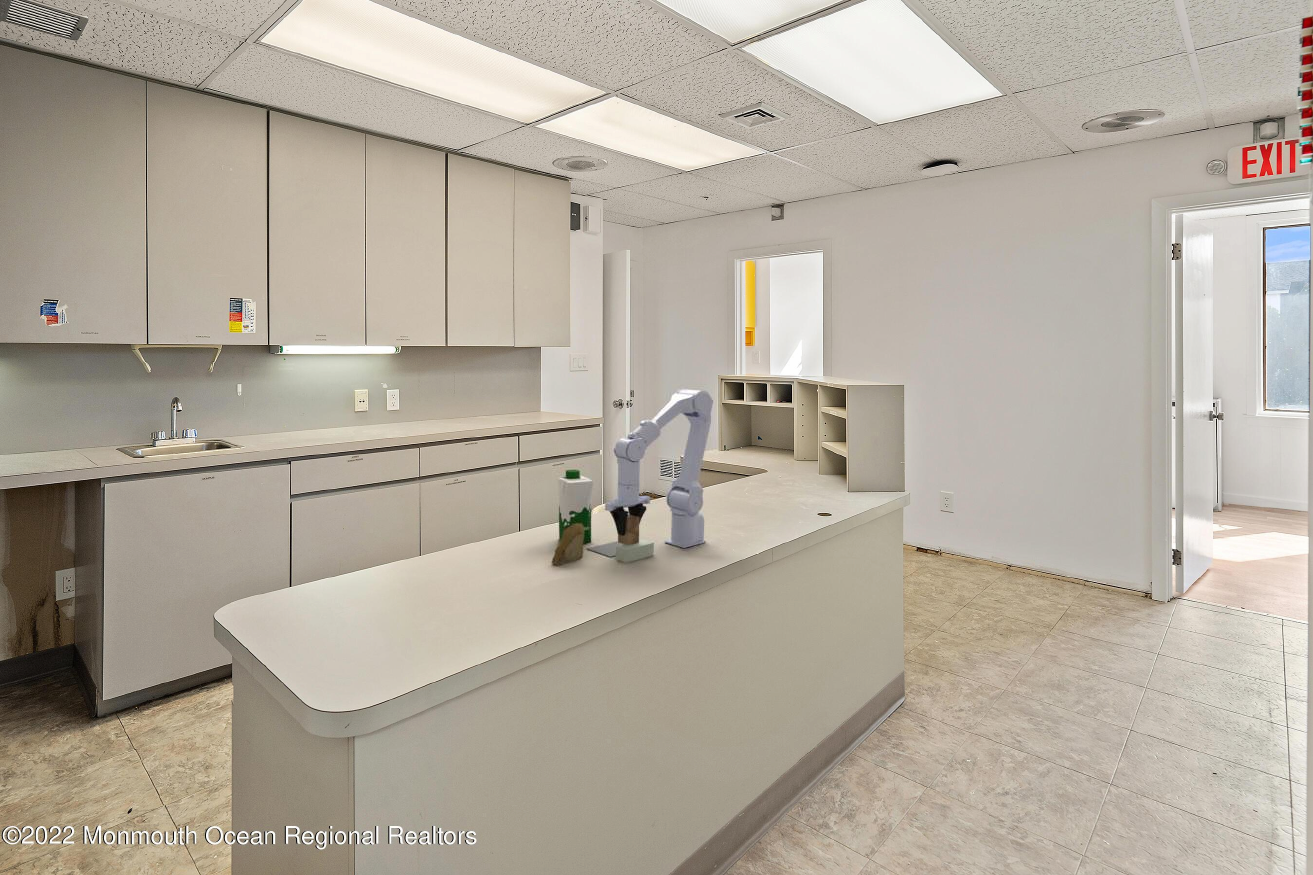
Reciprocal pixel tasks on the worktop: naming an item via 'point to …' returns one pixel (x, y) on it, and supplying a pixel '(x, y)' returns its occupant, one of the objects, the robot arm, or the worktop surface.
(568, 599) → the worktop surface
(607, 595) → the worktop surface
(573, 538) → the rock
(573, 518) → the milk carton
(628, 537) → the walnut block
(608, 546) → the mat
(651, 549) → the pale green rectangular block
